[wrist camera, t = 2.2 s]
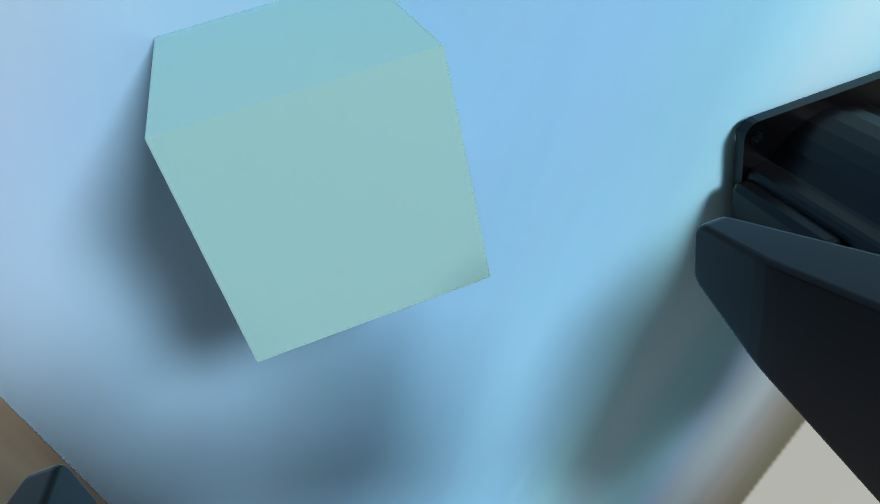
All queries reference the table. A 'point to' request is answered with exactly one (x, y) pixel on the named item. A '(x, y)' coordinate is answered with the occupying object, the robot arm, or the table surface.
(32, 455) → the walnut base block
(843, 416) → the robot arm
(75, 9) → the table surface
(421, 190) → the teal block
